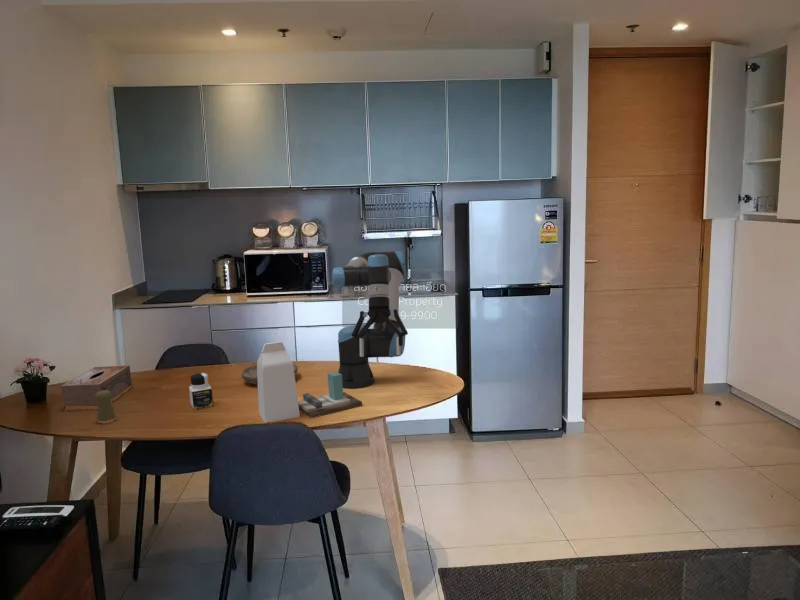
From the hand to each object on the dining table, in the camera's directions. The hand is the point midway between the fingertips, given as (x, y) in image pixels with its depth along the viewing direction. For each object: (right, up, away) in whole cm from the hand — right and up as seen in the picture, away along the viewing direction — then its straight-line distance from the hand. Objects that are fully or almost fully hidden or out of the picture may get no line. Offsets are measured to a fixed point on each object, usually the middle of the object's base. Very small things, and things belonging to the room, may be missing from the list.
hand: (380, 356), depth 218 cm
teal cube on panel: (-16, -16, +4) cm, 23 cm away
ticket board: (-19, -18, +2) cm, 26 cm away
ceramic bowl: (-47, -14, +38) cm, 62 cm away
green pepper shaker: (-97, -23, -2) cm, 100 cm away
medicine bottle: (-67, -20, +10) cm, 71 cm away
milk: (-35, -21, -4) cm, 41 cm away
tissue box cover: (-112, -20, +24) cm, 116 cm away
